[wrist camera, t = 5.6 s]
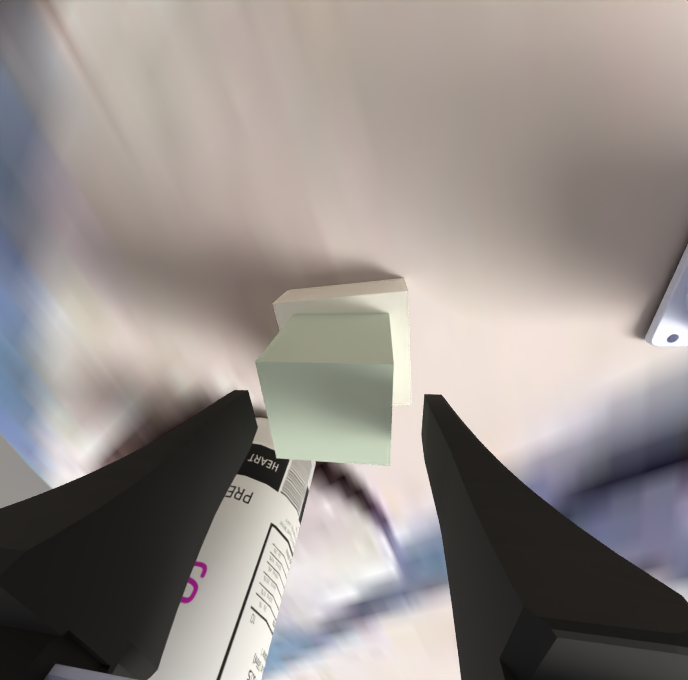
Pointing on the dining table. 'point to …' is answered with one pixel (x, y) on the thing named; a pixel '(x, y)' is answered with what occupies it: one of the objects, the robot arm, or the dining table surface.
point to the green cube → (330, 388)
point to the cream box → (360, 301)
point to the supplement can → (240, 571)
